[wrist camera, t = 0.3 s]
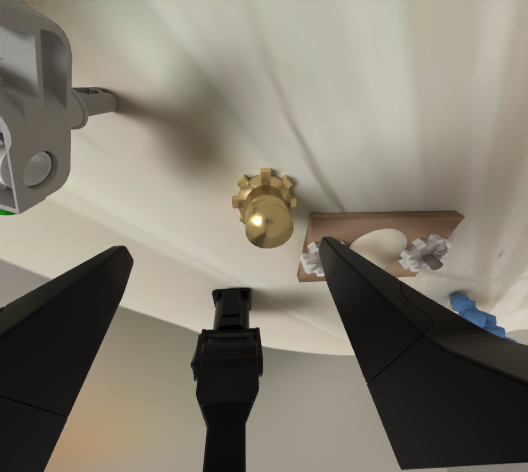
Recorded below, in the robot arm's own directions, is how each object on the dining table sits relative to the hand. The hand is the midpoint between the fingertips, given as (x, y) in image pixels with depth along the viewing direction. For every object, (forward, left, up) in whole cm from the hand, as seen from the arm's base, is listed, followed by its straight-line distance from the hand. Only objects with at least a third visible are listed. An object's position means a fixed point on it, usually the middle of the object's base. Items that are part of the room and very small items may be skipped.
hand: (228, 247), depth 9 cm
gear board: (-12, -19, -13) cm, 26 cm away
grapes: (-28, -44, -13) cm, 54 cm away
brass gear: (-4, -3, -13) cm, 14 cm away
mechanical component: (+5, +10, -13) cm, 17 cm away
